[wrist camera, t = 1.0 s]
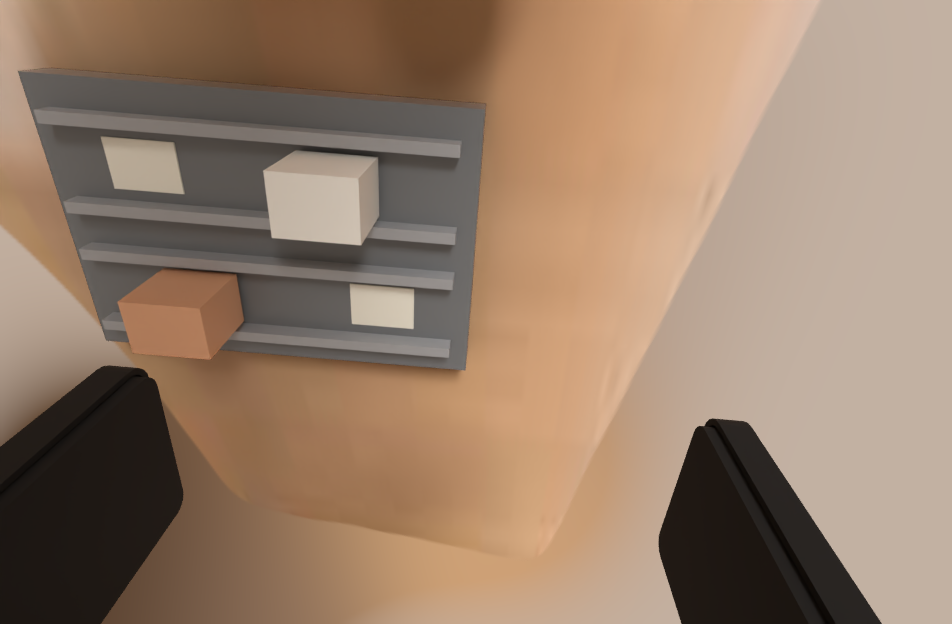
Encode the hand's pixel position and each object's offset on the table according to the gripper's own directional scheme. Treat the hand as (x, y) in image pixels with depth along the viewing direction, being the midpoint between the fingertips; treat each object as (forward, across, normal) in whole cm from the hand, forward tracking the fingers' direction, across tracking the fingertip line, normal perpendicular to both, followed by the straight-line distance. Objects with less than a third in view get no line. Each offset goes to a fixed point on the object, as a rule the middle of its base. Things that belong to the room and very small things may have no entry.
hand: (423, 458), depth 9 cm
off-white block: (+19, +7, 0) cm, 20 cm away
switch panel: (+21, +11, +4) cm, 24 cm away
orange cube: (+19, +15, +7) cm, 25 cm away
